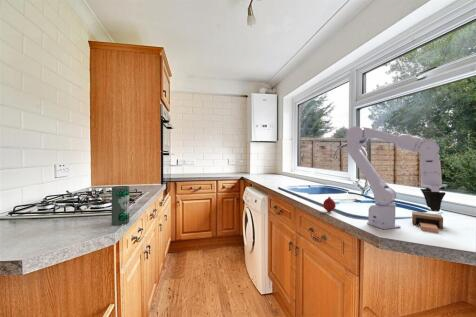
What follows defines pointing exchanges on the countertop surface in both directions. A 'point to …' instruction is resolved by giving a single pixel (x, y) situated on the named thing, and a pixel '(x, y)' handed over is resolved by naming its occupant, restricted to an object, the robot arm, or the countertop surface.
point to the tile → (428, 227)
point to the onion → (329, 204)
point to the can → (120, 205)
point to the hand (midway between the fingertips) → (433, 209)
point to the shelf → (427, 218)
